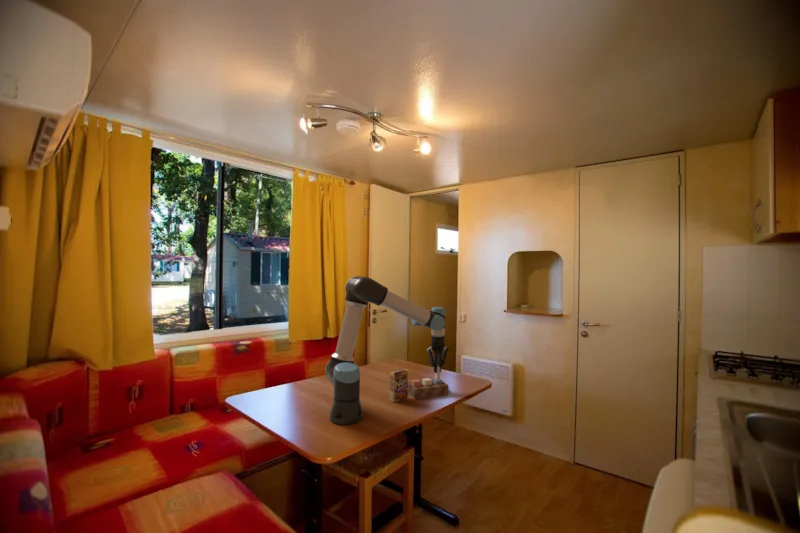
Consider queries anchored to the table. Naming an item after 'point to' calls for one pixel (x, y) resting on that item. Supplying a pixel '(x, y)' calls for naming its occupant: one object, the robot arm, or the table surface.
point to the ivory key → (426, 381)
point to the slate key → (437, 381)
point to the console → (428, 390)
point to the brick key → (416, 383)
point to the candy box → (398, 385)
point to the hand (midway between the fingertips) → (437, 378)
